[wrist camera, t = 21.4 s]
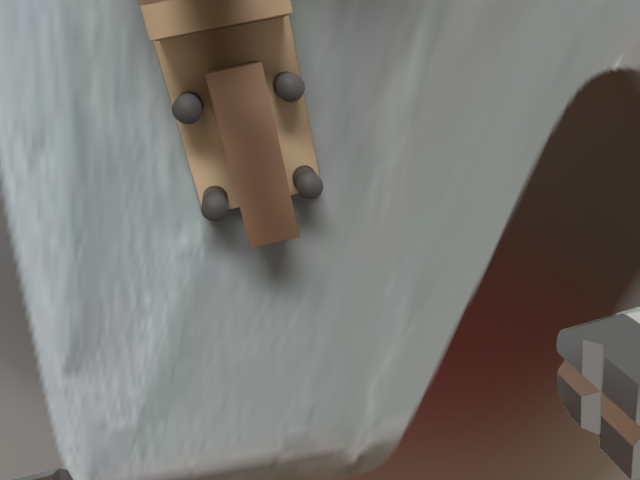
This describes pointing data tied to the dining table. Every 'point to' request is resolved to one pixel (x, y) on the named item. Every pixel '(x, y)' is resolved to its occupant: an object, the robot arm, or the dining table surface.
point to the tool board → (220, 51)
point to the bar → (253, 151)
